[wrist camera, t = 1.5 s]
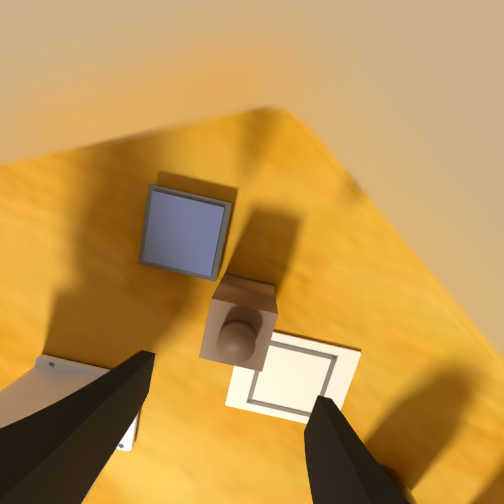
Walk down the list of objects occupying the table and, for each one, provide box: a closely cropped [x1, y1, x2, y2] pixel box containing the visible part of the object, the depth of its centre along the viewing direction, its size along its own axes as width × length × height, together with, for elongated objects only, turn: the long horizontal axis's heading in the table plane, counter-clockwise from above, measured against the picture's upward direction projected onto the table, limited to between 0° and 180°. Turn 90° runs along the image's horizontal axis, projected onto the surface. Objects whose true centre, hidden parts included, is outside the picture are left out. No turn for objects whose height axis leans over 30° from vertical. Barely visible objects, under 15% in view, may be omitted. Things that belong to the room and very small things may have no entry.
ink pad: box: [138, 184, 233, 281], centre depth 18 cm, size 6×6×1 cm
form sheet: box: [225, 331, 361, 424], centre depth 21 cm, size 10×8×1 cm
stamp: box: [199, 273, 278, 372], centre depth 16 cm, size 4×4×6 cm
